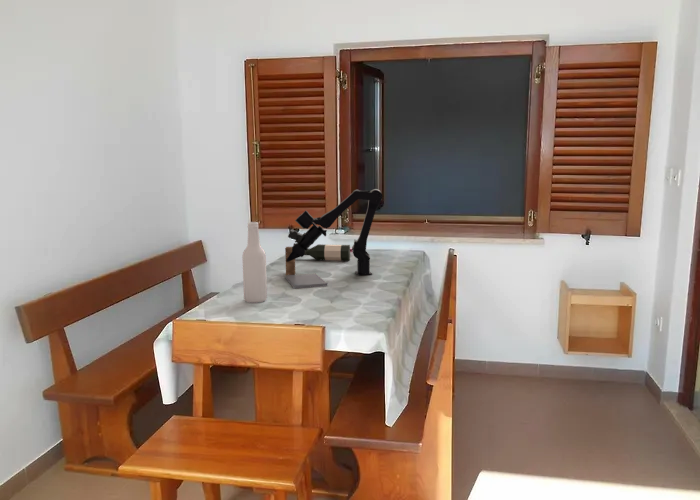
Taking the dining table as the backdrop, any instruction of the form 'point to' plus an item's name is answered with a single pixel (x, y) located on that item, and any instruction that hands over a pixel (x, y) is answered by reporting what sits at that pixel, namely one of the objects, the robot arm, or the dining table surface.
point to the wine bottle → (329, 252)
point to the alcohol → (254, 267)
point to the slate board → (305, 280)
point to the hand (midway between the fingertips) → (287, 260)
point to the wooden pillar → (291, 264)
